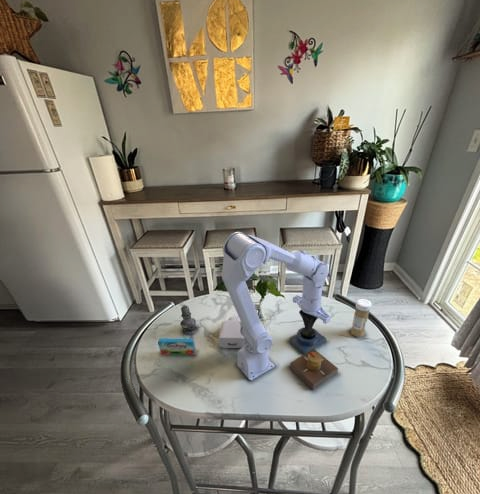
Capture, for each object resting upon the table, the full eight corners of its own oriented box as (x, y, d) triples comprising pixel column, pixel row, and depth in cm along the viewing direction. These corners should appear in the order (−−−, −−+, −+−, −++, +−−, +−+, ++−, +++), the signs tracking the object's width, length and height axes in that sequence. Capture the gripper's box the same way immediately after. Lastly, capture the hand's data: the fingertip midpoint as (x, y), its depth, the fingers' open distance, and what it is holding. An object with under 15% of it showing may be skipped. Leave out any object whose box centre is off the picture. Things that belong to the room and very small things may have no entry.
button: (307, 341, 90) (308, 337, 90) (298, 334, 94) (298, 330, 93) (317, 336, 92) (317, 332, 91) (308, 329, 96) (308, 325, 95)
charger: (248, 320, 106) (246, 348, 94) (225, 320, 107) (219, 347, 95) (248, 310, 104) (245, 338, 91) (224, 310, 105) (218, 337, 92)
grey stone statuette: (200, 330, 103) (195, 305, 97) (185, 337, 101) (179, 311, 94) (193, 322, 107) (188, 297, 101) (179, 328, 105) (173, 303, 98)
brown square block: (313, 390, 78) (313, 384, 77) (289, 368, 86) (290, 362, 84) (337, 373, 83) (338, 368, 81) (313, 354, 90) (313, 348, 88)
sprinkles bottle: (367, 334, 96) (374, 303, 88) (357, 339, 94) (364, 308, 87) (357, 327, 99) (363, 296, 92) (347, 331, 98) (353, 301, 90)
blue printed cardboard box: (196, 352, 94) (193, 338, 91) (195, 355, 93) (192, 342, 89) (162, 351, 95) (158, 338, 92) (161, 354, 94) (157, 341, 91)
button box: (304, 354, 90) (305, 347, 88) (289, 341, 95) (289, 334, 93) (325, 341, 94) (326, 334, 92) (310, 330, 100) (310, 322, 98)
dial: (323, 366, 82) (324, 357, 80) (313, 372, 80) (314, 363, 78) (313, 358, 85) (314, 349, 83) (304, 364, 83) (305, 355, 81)
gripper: (339, 301, 80) (334, 335, 88) (304, 280, 91) (302, 312, 98) (322, 310, 77) (318, 344, 85) (288, 288, 88) (287, 320, 95)
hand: (308, 328), depth 91 cm, fingers closed
